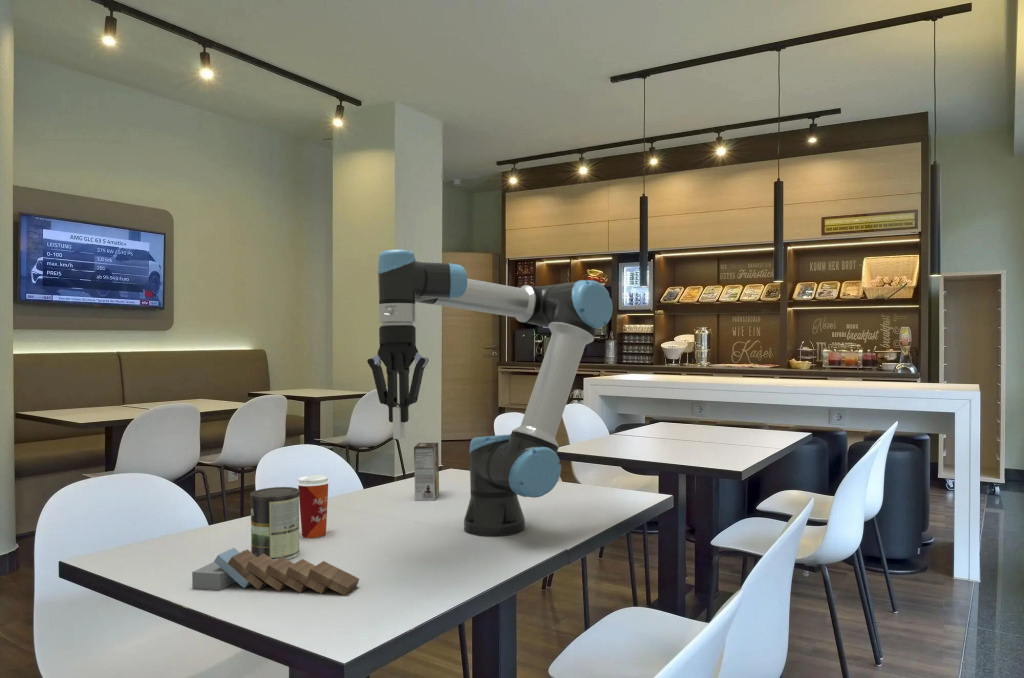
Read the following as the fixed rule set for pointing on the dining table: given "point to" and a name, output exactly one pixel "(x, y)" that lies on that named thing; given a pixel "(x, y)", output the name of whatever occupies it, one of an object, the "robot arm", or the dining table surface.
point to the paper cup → (313, 505)
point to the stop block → (211, 578)
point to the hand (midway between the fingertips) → (399, 438)
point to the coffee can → (275, 522)
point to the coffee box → (426, 471)
